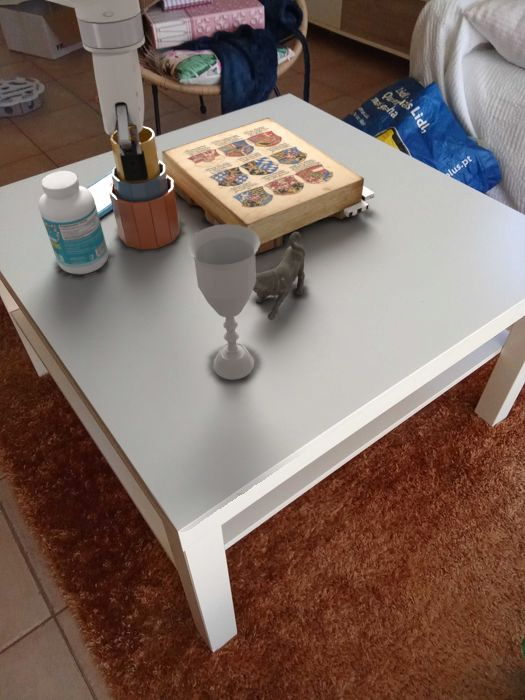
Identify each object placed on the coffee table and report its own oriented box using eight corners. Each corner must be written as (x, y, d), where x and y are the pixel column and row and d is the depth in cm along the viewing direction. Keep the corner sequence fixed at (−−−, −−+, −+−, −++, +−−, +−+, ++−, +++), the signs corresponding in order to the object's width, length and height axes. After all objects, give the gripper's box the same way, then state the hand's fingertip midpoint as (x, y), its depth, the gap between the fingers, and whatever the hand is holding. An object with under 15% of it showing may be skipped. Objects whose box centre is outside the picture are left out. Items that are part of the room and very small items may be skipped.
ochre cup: (125, 223, 84) (108, 147, 76) (128, 201, 89) (112, 127, 80) (166, 220, 85) (153, 144, 76) (166, 198, 89) (154, 124, 80)
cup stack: (118, 251, 86) (103, 189, 78) (122, 217, 92) (108, 156, 85) (180, 246, 86) (171, 184, 79) (179, 212, 93) (171, 152, 85)
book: (380, 213, 92) (281, 146, 108) (386, 178, 88) (281, 113, 104) (255, 268, 83) (167, 185, 99) (254, 232, 78) (161, 151, 94)
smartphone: (55, 208, 93) (117, 167, 101) (57, 214, 94) (119, 173, 102) (87, 221, 90) (149, 178, 98) (89, 227, 91) (150, 184, 99)
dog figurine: (280, 266, 83) (280, 222, 77) (315, 278, 81) (318, 234, 75) (237, 314, 76) (234, 270, 70) (274, 329, 74) (274, 285, 68)
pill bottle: (57, 251, 86) (29, 170, 76) (106, 242, 88) (85, 161, 78) (60, 281, 81) (31, 198, 71) (112, 271, 83) (90, 188, 73)
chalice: (210, 391, 67) (194, 270, 54) (199, 350, 71) (182, 231, 58) (269, 377, 68) (268, 257, 55) (255, 339, 72) (250, 219, 59)
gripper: (87, 10, 74) (115, 141, 87) (71, 57, 62) (107, 201, 75) (145, 7, 75) (164, 138, 88) (140, 54, 63) (163, 197, 76)
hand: (137, 166), depth 81 cm, fingers closed on ochre cup, 6 cm apart
